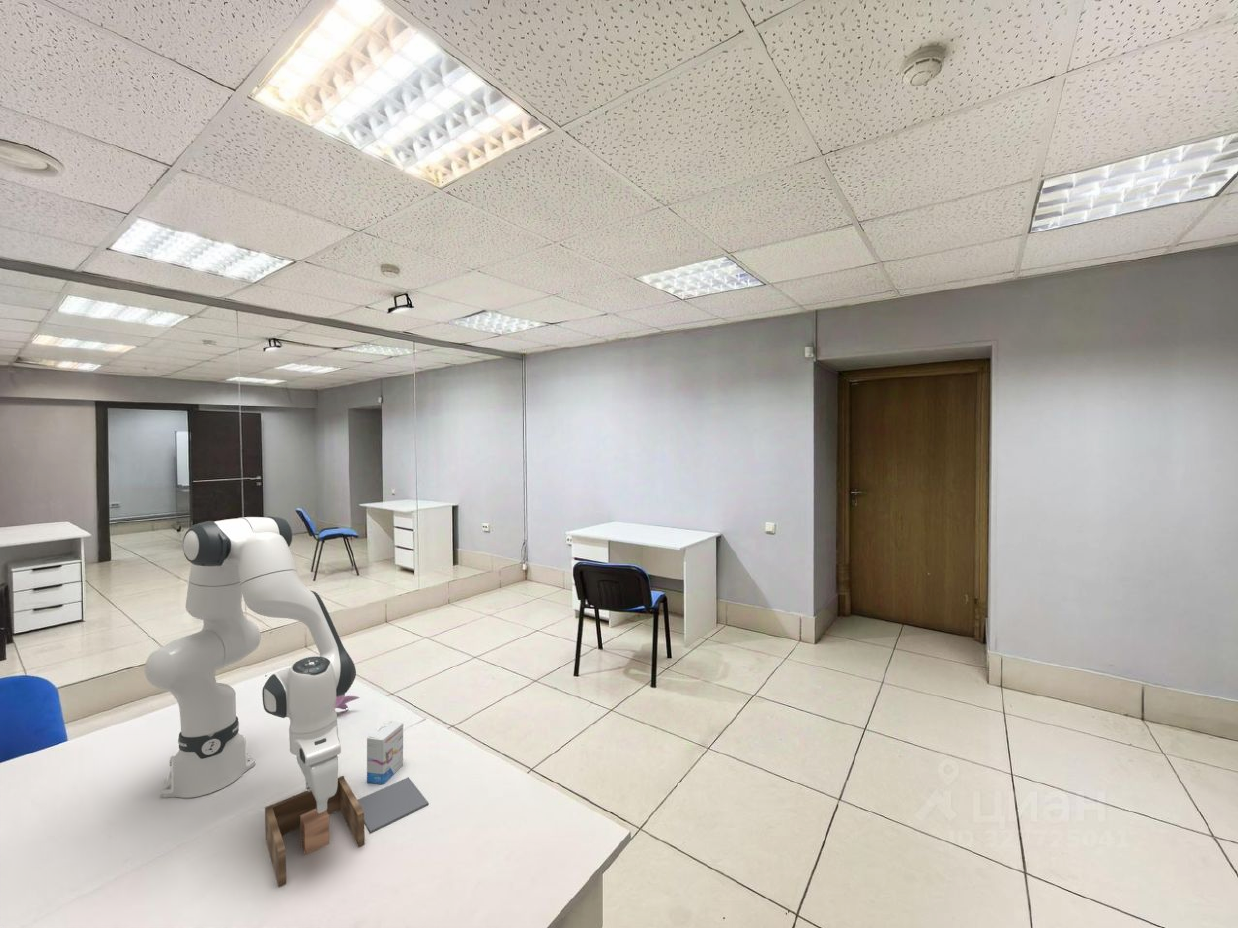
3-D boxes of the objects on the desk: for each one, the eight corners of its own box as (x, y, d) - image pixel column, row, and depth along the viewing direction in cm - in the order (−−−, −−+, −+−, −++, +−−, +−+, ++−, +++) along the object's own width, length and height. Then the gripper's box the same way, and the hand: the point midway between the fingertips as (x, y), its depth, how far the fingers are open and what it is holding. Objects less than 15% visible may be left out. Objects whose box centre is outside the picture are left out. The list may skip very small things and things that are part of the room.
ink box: (383, 785, 125) (382, 739, 125) (366, 782, 126) (365, 737, 126) (404, 764, 134) (403, 721, 134) (388, 762, 135) (387, 719, 135)
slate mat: (353, 803, 119) (353, 801, 119) (408, 778, 128) (408, 776, 128) (370, 833, 109) (370, 831, 109) (428, 804, 118) (428, 802, 118)
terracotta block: (300, 842, 107) (300, 815, 107) (324, 831, 110) (323, 805, 110) (305, 854, 104) (304, 826, 104) (329, 843, 107) (328, 815, 107)
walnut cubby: (265, 838, 108) (264, 807, 108) (343, 804, 119) (343, 775, 118) (278, 886, 96) (278, 851, 96) (364, 843, 106) (364, 811, 106)
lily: (364, 716, 161) (363, 685, 165) (337, 719, 150) (337, 686, 154) (331, 725, 162) (331, 694, 166) (302, 729, 152) (303, 696, 156)
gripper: (287, 723, 112) (289, 783, 112) (307, 762, 97) (310, 832, 97) (319, 712, 116) (321, 771, 116) (343, 748, 101) (345, 815, 102)
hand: (316, 799), depth 107 cm, fingers open, 8 cm apart
